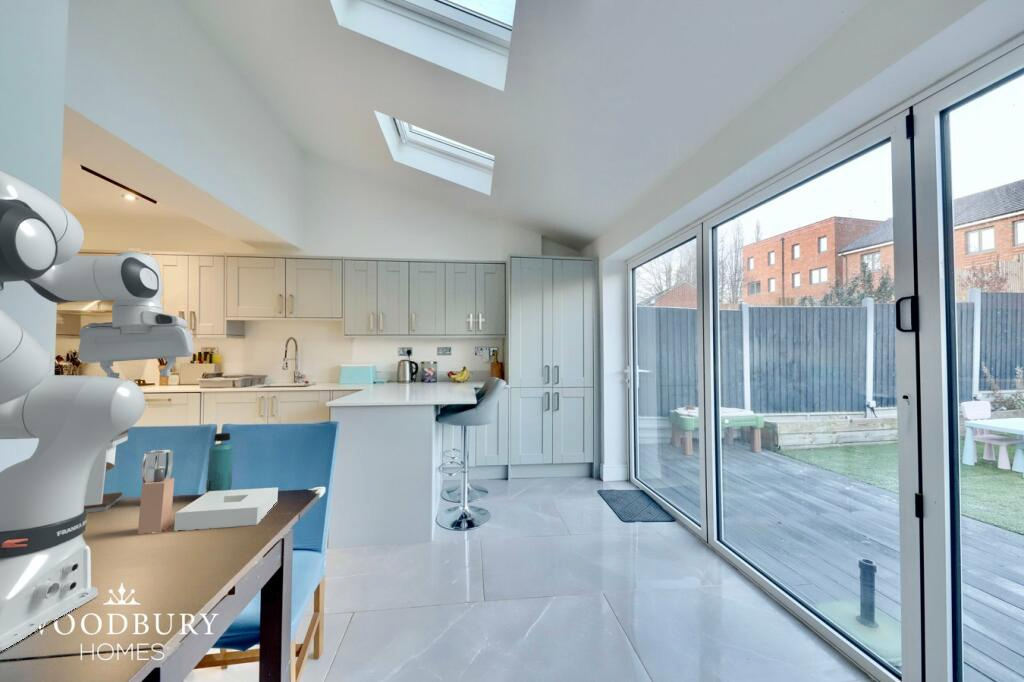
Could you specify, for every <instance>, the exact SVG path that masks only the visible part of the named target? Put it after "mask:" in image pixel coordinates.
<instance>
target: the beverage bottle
mask: <svg viewBox="0 0 1024 682" xmlns="http://www.w3.org/2000/svg"><path fill="white" fill-rule="evenodd" d="M230 440H231V433H229V432H220V433H216V434H214V438H213V441H214V442H222V443H215V444H213V445H212V446H210V448H208V449H209V450H208V451H209V452H208V463H207V475H206V476H207V477H206V484H205V487H206V488H205V494H206V493H208V492H209V491H224V490H232V482H233V470H234V469H233V459H234V458H233V457H234V445H232V444H231V443H229V442H227V443H226V441H230ZM224 441H225V443H224Z"/></svg>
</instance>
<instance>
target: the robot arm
mask: <svg viewBox="0 0 1024 682" xmlns="http://www.w3.org/2000/svg"><path fill="white" fill-rule="evenodd" d="M84 240H85V232H84V228H83V227H82V225H81V223H80V221H79V220H78V219H77V217H75V215H74V214H73V213H72V212H71V211H69V210H68V209H67V208H66V207H64V206H63V205H62V204H60V203H58V202H57V201H56V200H54V199H53V198H51V197H49V196H48V195H47V194H45V193H44V192H42V191H40V190H39V189H38V188H36V187H33V186H32V185H31V184H28V183H26V182H24V181H23V180H20V179H19V178H16V176H13V175H10V174H9V173H6V172H4V171H1V170H0V283H8V282H21V281H22V282H25V283H27V284H28V285H29V286H30V287H31V288H32V289H33V290H34V292H36V293H37V294H38V295H39V296H41V297H42V298H44V299H46V300H47V301H49V302H52V303H56V304H64V303H76V302H77V303H78V302H87V301H89V302H90V301H96V302H97V301H98V302H99V301H113V303H112V307H111V308H112V309H111V311H112V312H111V315H112V316H111V317H112V318H111V319H112V321H109V322H89V323H87V324H86V325H83V326H82V327H81V328H80V329H79V339H80V342H79V345H78V351H77V352H78V355H77V356H78V357H77V358H78V360H79V361H81V362H82V363H85V364H98V363H99V366H100V368H101V369H102V370H103V371H104V373H106V375H77V374H76V375H72V374H70V375H68V374H67V375H64V374H62V375H59V374H58V375H57V374H49V372H50V370H51V368H52V367H51V366H52V365H51V364H52V363H51V362H52V359H51V355H50V353H49V351H48V349H46V347H45V346H43V344H41V343H40V342H39V341H38V340H37V339H36V338H35V337H33V335H31V334H30V333H29V332H28V331H27V330H26V329H24V328H23V327H22V326H21V324H19V323H18V322H17V321H15V319H13V318H12V317H11V316H10V315H9V314H7V313H6V312H5V311H4V310H2V309H1V308H0V440H20V439H21V440H22V439H23V440H24V439H25V440H26V439H27V440H29V439H38V443H37V446H36V448H35V450H34V451H33V453H32V455H31V456H30V457H29V458H26V459H24V460H21V461H20V462H17V463H14V464H12V465H11V466H8V467H6V468H4V469H2V470H1V471H0V650H4V649H6V648H8V647H10V646H11V645H13V644H14V643H16V642H19V641H20V640H22V639H24V638H25V637H26V636H28V635H30V634H31V633H32V632H34V631H35V630H36V629H37V628H38V627H39V626H40V625H41V624H43V623H45V622H48V621H50V620H53V619H56V618H58V617H61V616H63V615H64V616H66V615H68V614H69V613H71V612H73V611H74V610H76V609H78V608H80V607H81V606H83V605H85V604H86V603H89V601H91V600H93V599H95V598H96V597H97V596H99V595H98V594H99V590H98V588H97V587H95V586H92V572H91V571H92V560H91V559H92V558H91V548H90V546H89V545H88V544H87V543H86V540H85V539H84V537H83V533H84V532H85V531H86V528H87V527H86V526H87V525H86V524H87V523H88V517H87V514H88V513H87V511H86V510H84V503H85V495H86V489H87V483H88V478H89V474H90V470H91V468H92V465H93V463H94V461H95V459H96V458H97V456H98V455H99V453H100V452H101V451H102V449H103V448H104V447H105V446H106V445H107V444H108V443H109V442H110V441H111V440H112V439H114V438H115V437H116V436H118V435H119V434H121V433H122V432H124V431H126V430H128V429H130V428H132V427H133V426H134V425H135V424H137V422H138V421H139V420H140V419H141V418H142V416H143V414H144V411H145V408H146V397H145V393H144V392H143V390H142V388H141V387H140V386H139V385H138V384H137V382H135V381H132V380H128V379H124V378H120V372H115V371H114V370H113V369H112V368H111V367H114V362H127V361H142V360H143V361H144V360H158V359H160V360H161V359H164V361H165V362H167V363H166V365H165V366H164V367H163V368H161V369H159V377H161V378H164V377H165V378H167V377H171V369H172V368H173V367H174V366H175V364H176V362H177V358H187V357H188V358H189V357H191V356H192V355H194V353H195V349H194V347H195V346H194V339H193V336H192V333H191V332H190V331H189V329H187V328H188V326H189V324H188V321H187V320H185V319H184V318H182V317H180V316H177V315H172V314H168V313H164V308H163V305H162V301H161V299H162V296H163V281H162V280H163V279H162V274H161V268H160V266H159V262H158V261H157V259H156V258H155V257H152V256H151V255H149V254H146V253H142V252H138V251H122V252H119V253H117V254H116V255H78V254H79V252H80V251H81V249H82V247H83V245H84ZM128 431H129V430H128ZM75 608H76V609H75ZM73 609H74V610H73ZM72 610H73V611H72ZM70 611H71V612H70ZM68 612H69V613H68ZM67 613H68V614H67ZM65 614H66V615H65ZM64 616H63V617H64ZM61 618H62V617H61ZM30 636H31V635H30ZM25 639H26V638H25ZM25 639H24V640H25ZM22 641H23V640H22ZM20 642H21V641H20ZM20 642H19V643H20ZM13 646H14V645H13ZM10 648H11V647H10ZM8 649H9V648H8ZM6 650H7V649H6Z"/></svg>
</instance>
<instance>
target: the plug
mask: <svg viewBox="0 0 1024 682" xmlns="http://www.w3.org/2000/svg"><path fill="white" fill-rule="evenodd" d="M164 477H165V468H158V469H155V471H154V479H153V480H151V481H148V482H146V483H144V484H143V483H142V484H141V494H140V503H141V504H139V505H140V506H139V516H138V526H137V527H138V528H137V535H138V534H141V535H146V534H145V533H152V532H161V531H162V530H164V529H165V528H167V527H168V528H170V527H171V524H172V523H171V522H172V511H173V501H174V499H173V498H174V489H175V486H174V485H175V477H173V478H172V477H170V478H169V479H164ZM169 526H170V527H169ZM168 528H167V529H168ZM165 530H166V529H165ZM165 530H164V531H165ZM162 532H163V531H162ZM162 532H161V533H162Z"/></svg>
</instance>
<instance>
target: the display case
mask: <svg viewBox="0 0 1024 682" xmlns="http://www.w3.org/2000/svg"><path fill="white" fill-rule="evenodd" d="M129 429H130V428H129ZM129 429H128V430H126V431H124V432H122V433H121V434H119V435H118V436H116V437H115V438H114V439H112V440H111V441H110V442H109V443H108V444H107V445H106V446H105V447H104V448H103V449H102V451H101V452H100V453H99V455H98V456H97V458H96V459H95V461H94V463H93V465H92V468H91V470H90V474H89V478H88V483H87V489H86V495H85V503H84V510H86V511H87V514H89V512H93V513H99V512H98V511H102V512H106V511H108V510H109V509H110V508H112V507H113V506H115V505H116V504H117V503H118V502H117V501H119V500H116V499H121V500H123V499H122V497H123V492H121V491H120V492H111V493H104V488H105V482H106V481H105V480H106V479H105V478H106V472H108V471H110V470H112V469H113V468H114V467H115V462H116V461H115V460H116V452H117V446H119V445H120V444H122V443H124V442H127V441H128V439H129ZM116 502H117V503H116ZM119 502H120V501H119ZM115 503H116V504H115ZM112 505H113V506H112ZM111 506H112V507H111ZM108 508H109V509H108ZM107 509H108V510H107Z"/></svg>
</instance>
